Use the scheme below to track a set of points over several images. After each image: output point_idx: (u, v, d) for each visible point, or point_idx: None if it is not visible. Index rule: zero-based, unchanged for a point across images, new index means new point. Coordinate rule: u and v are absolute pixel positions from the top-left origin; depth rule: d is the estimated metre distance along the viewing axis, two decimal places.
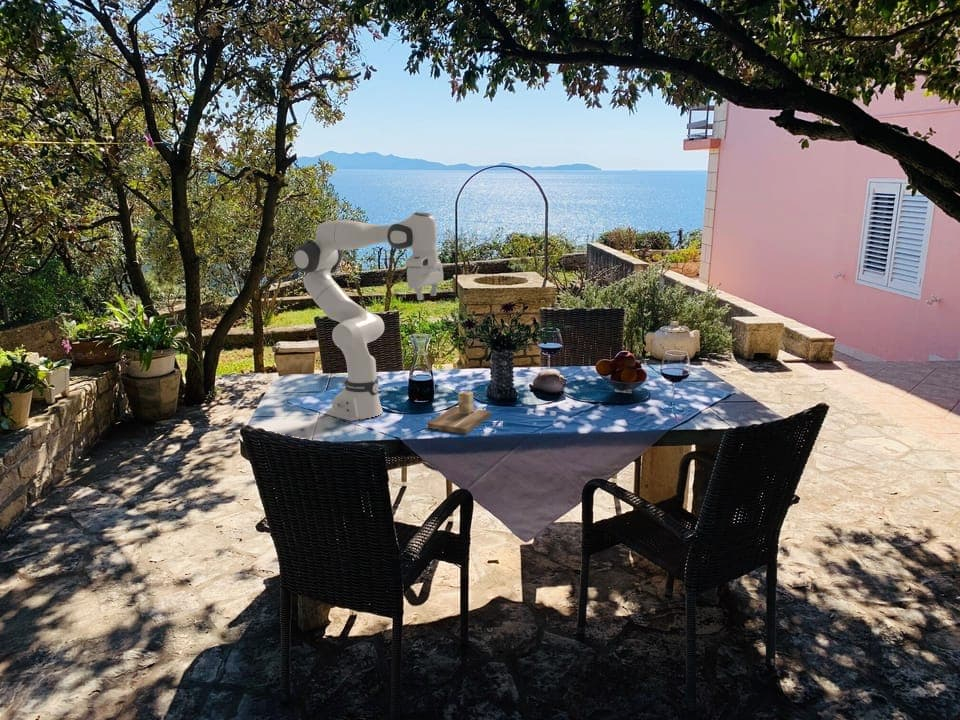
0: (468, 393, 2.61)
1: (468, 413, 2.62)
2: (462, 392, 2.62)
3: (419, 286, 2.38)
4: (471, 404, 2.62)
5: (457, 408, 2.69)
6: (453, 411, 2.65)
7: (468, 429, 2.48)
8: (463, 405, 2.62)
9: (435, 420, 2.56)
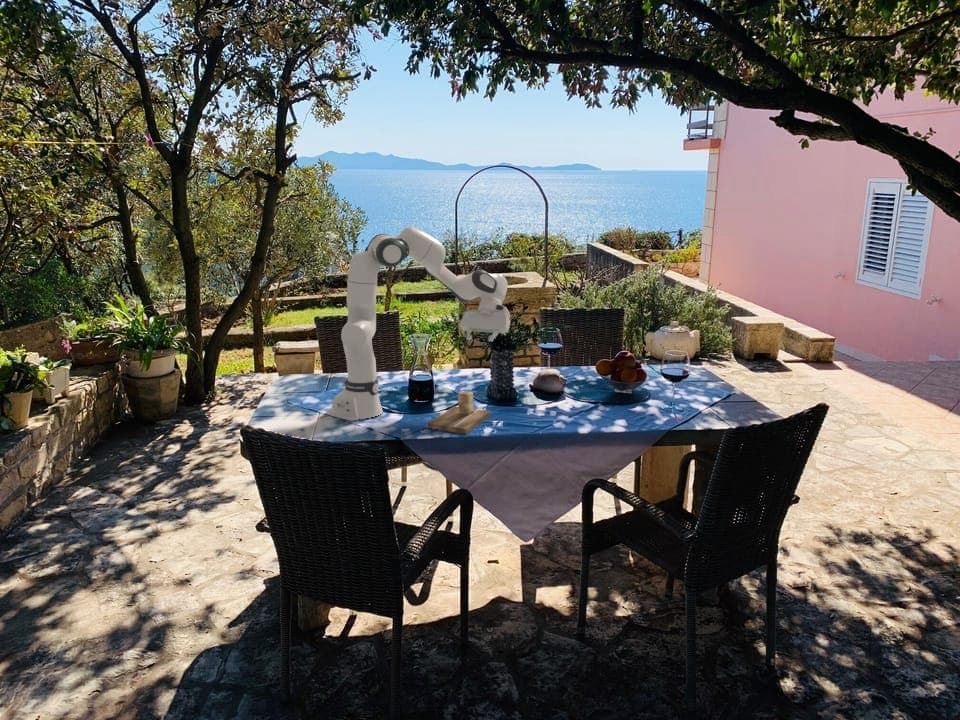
0: (468, 393, 2.61)
1: (468, 413, 2.62)
2: (462, 392, 2.62)
3: None
4: (471, 404, 2.62)
5: (457, 408, 2.69)
6: (453, 411, 2.65)
7: (468, 429, 2.48)
8: (463, 405, 2.62)
9: (435, 420, 2.56)
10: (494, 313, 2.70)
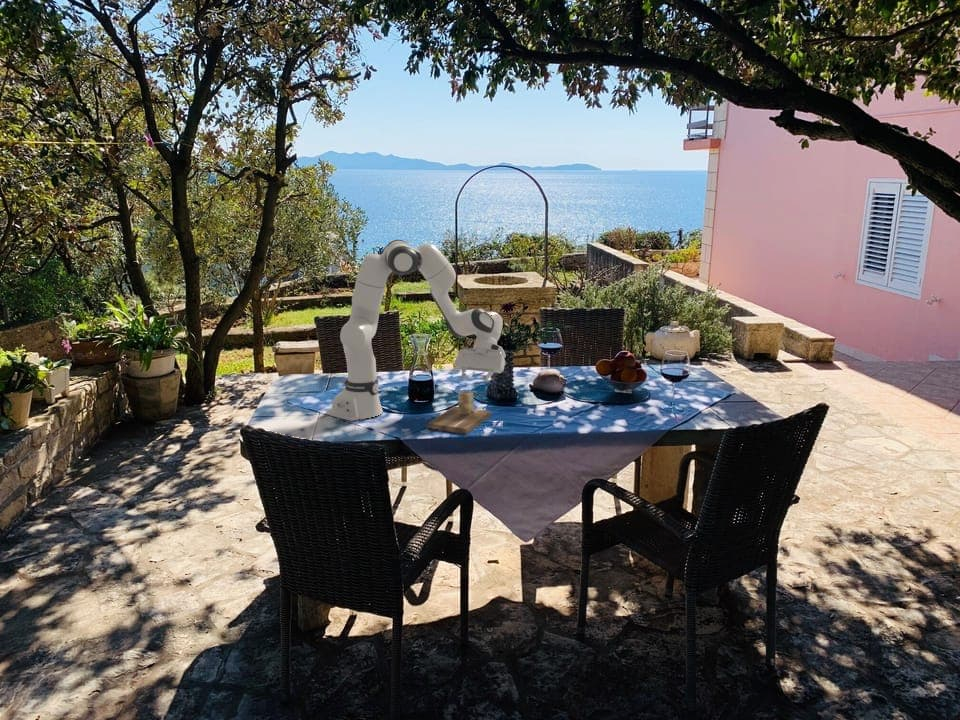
0: (468, 393, 2.61)
1: (468, 413, 2.62)
2: (462, 392, 2.62)
3: None
4: (471, 404, 2.62)
5: (457, 408, 2.69)
6: (453, 411, 2.65)
7: (468, 429, 2.48)
8: (463, 405, 2.62)
9: (435, 420, 2.56)
10: (489, 352, 2.69)
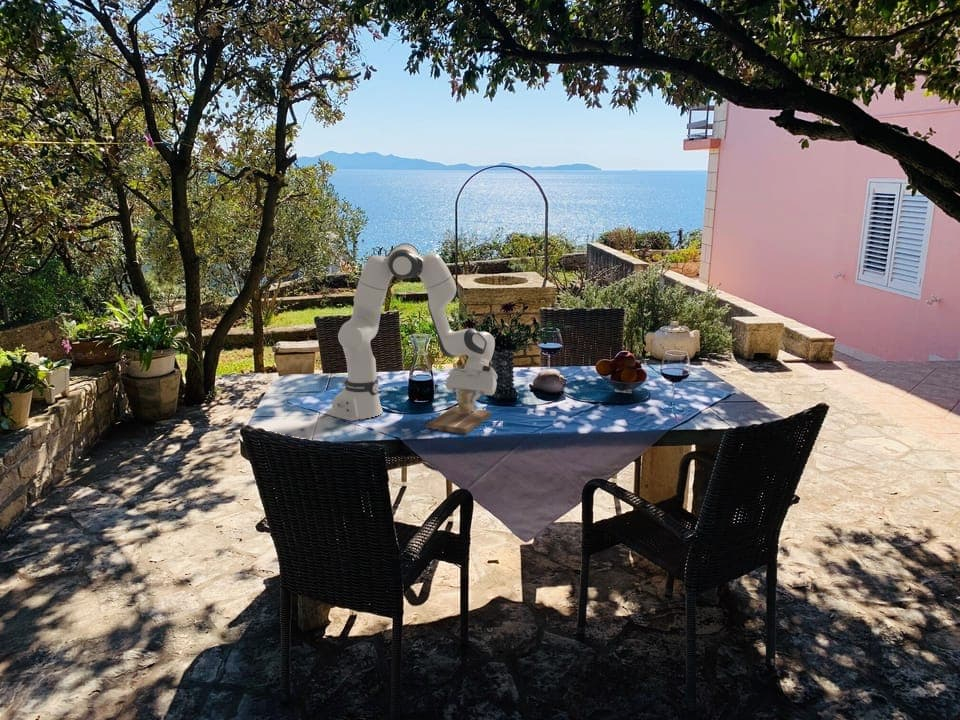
0: (468, 393, 2.61)
1: (468, 413, 2.62)
2: (462, 392, 2.62)
3: None
4: (471, 404, 2.62)
5: (457, 408, 2.69)
6: (453, 411, 2.65)
7: (468, 429, 2.48)
8: (463, 405, 2.62)
9: (435, 420, 2.56)
10: (480, 374, 2.63)
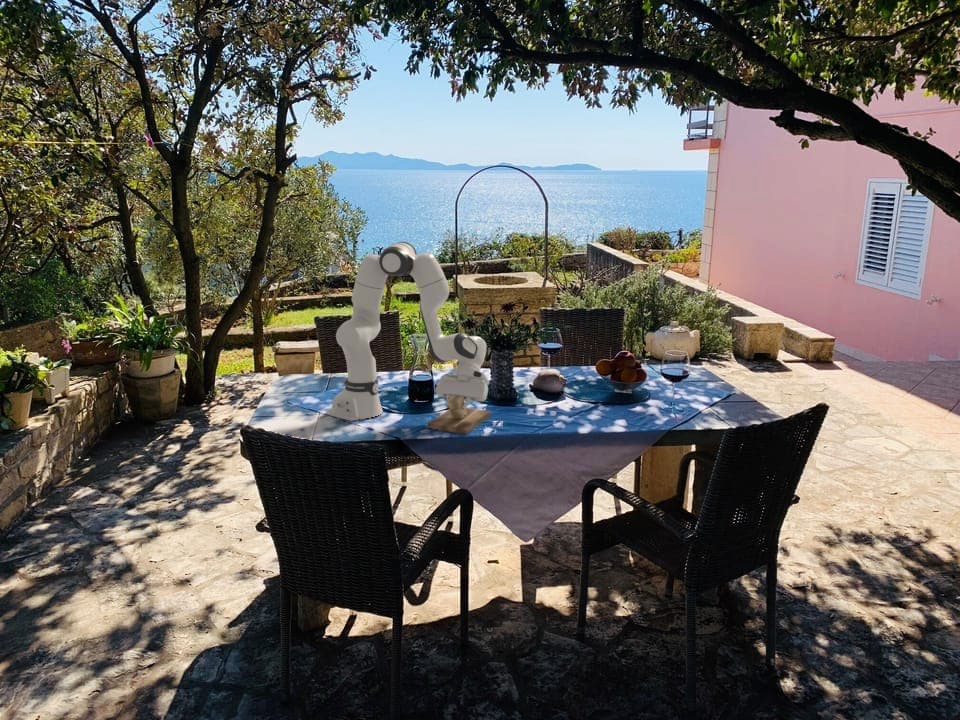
0: (458, 399, 2.54)
1: (461, 418, 2.56)
2: (452, 398, 2.55)
3: None
4: None
5: None
6: None
7: (468, 429, 2.48)
8: (455, 410, 2.56)
9: (435, 420, 2.56)
10: (471, 379, 2.57)
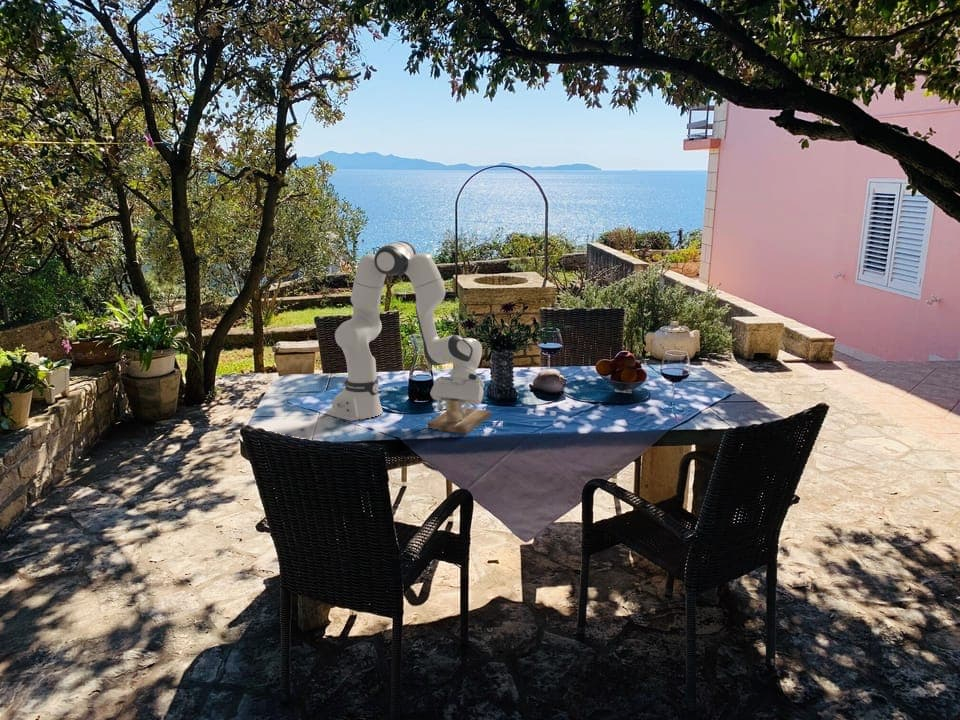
0: (456, 400, 2.52)
1: (456, 421, 2.53)
2: (450, 399, 2.54)
3: None
4: (459, 412, 2.54)
5: None
6: None
7: (468, 429, 2.48)
8: (451, 412, 2.53)
9: (435, 420, 2.56)
10: (466, 382, 2.53)
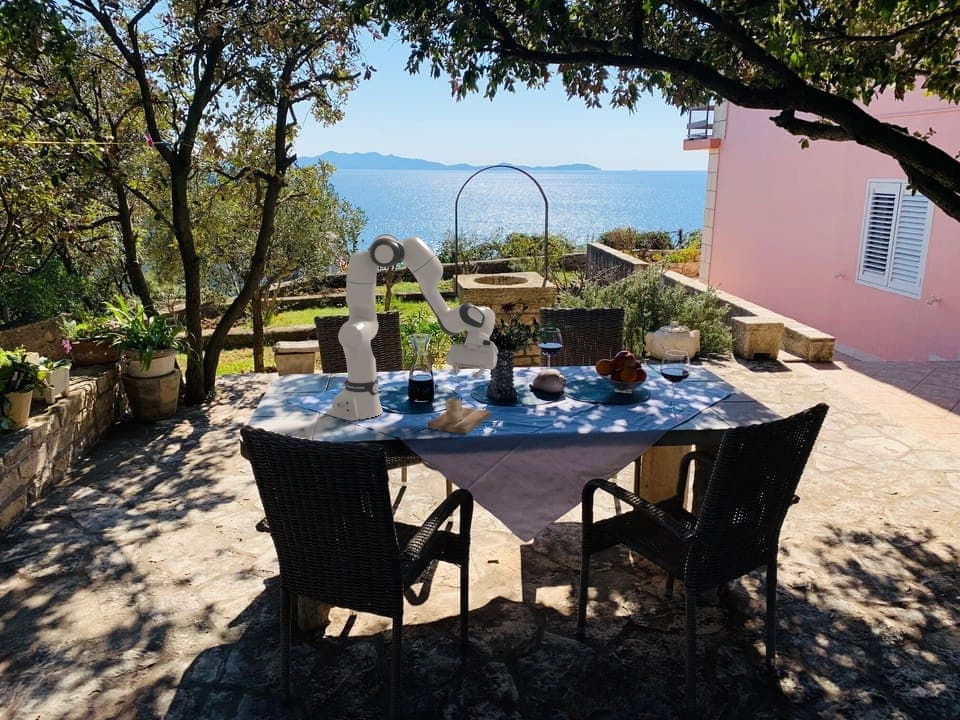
0: (456, 401, 2.52)
1: (456, 421, 2.53)
2: (450, 400, 2.54)
3: None
4: (459, 412, 2.54)
5: None
6: None
7: (468, 429, 2.48)
8: (451, 413, 2.53)
9: (435, 420, 2.56)
10: (481, 348, 2.62)
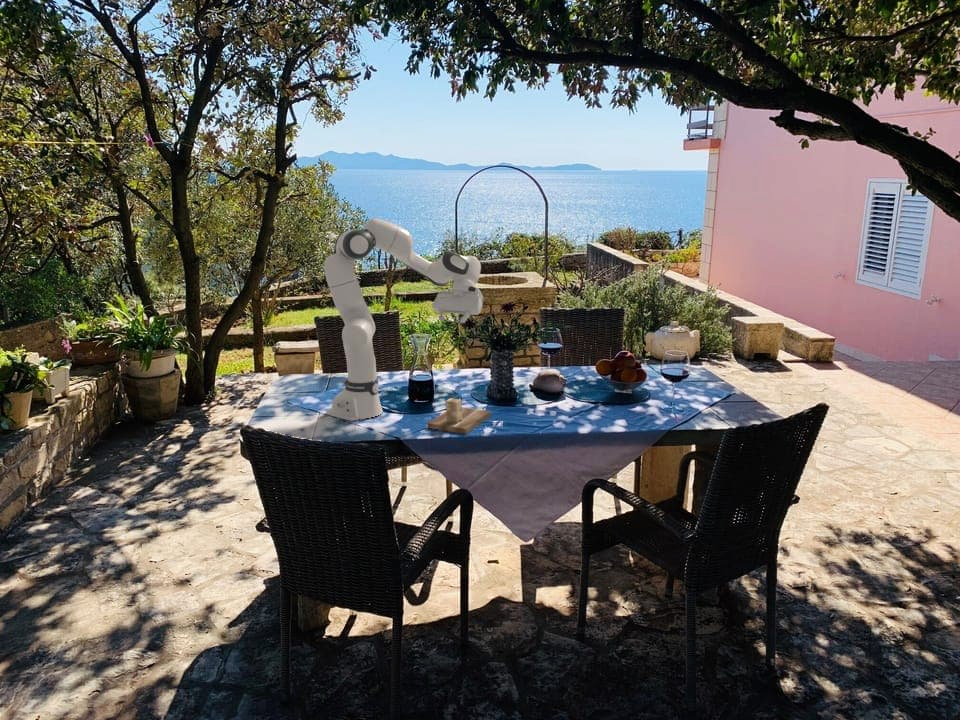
0: (456, 401, 2.52)
1: (456, 421, 2.53)
2: (450, 400, 2.54)
3: None
4: (459, 412, 2.54)
5: None
6: None
7: (468, 429, 2.48)
8: (451, 413, 2.53)
9: (435, 420, 2.56)
10: (466, 294, 2.69)
